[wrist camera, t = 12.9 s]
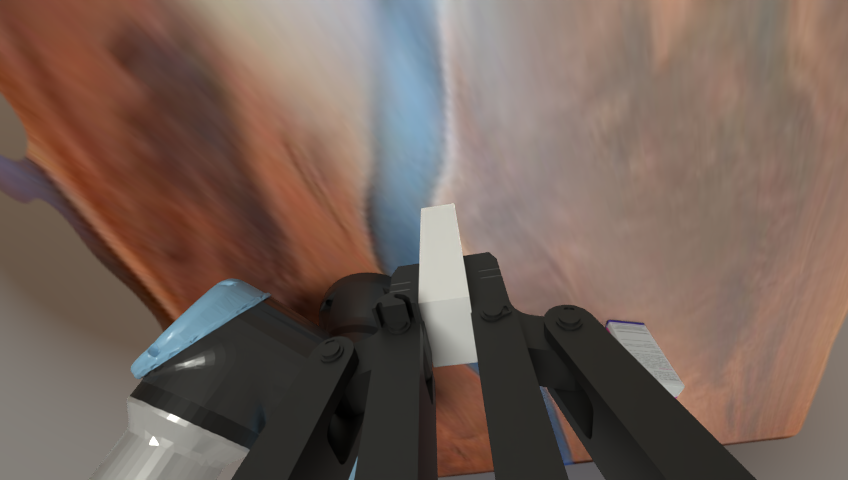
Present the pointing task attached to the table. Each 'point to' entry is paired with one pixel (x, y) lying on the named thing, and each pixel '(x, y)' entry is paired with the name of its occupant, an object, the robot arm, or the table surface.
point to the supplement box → (646, 352)
